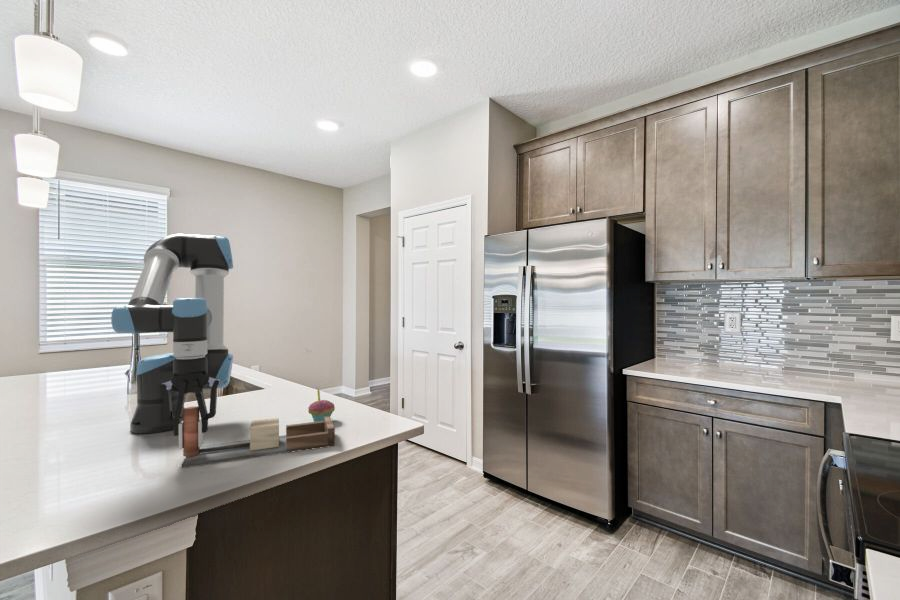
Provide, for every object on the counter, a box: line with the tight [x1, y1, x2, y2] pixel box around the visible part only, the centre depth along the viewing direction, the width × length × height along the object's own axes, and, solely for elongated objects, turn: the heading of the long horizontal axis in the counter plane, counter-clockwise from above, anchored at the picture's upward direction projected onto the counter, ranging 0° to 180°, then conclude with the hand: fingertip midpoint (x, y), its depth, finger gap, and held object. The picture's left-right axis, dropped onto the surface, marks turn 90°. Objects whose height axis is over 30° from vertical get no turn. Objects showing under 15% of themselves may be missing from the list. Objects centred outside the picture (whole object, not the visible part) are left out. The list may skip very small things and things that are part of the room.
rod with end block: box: [182, 405, 280, 458], centre depth 108 cm, size 7×23×12 cm, turn 113°
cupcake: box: [307, 388, 336, 422], centre depth 134 cm, size 9×8×12 cm
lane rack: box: [180, 416, 336, 468], centre depth 111 cm, size 12×37×5 cm, turn 113°
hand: (191, 446), depth 104 cm, fingers closed on rod with end block, 4 cm apart
